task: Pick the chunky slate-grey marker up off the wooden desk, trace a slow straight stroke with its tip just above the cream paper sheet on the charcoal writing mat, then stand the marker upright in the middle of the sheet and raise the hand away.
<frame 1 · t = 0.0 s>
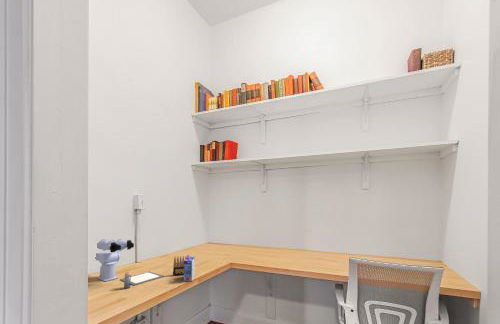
hand: (127, 246, 145), 22 cm above the table, tool horizontal, fingers open, 7 cm apart
blue drink carton: (189, 279, 154), on the table
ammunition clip: (181, 275, 162), on the table
writing mat: (142, 278, 155), on the table
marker: (127, 287, 139), on the table
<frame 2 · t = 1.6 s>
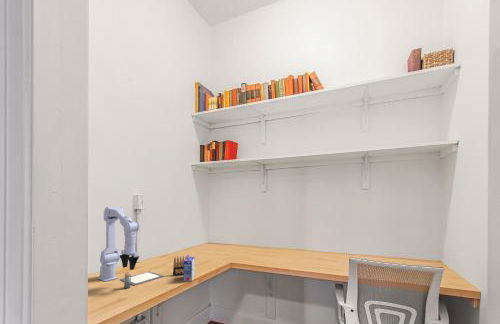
hand: (128, 268, 140), 10 cm above the table, tool pointing down, fingers open, 7 cm apart
nothing on the table moved.
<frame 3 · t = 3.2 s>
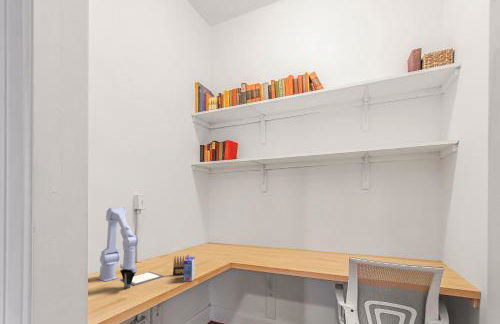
hand: (127, 283, 139), 2 cm above the table, tool pointing down, fingers closed on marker, 3 cm apart
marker: (127, 287, 139), on the table, touching gripper
everything else where it was.
when the fingers open (3 cm above the table, at t = 9.4 s): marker stays where it is, resting on writing mat.
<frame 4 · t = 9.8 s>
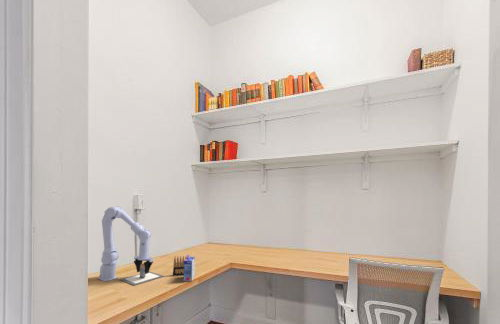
hand: (142, 272, 155), 3 cm above the table, tool pointing down, fingers open, 7 cm apart
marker: (142, 277, 155), resting on writing mat
everything else where it was.
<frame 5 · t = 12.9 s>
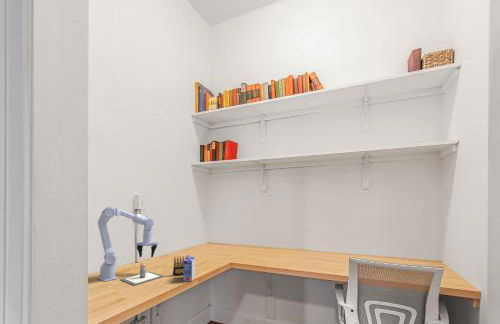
hand: (146, 256, 166), 10 cm above the table, tool pointing down, fingers open, 7 cm apart
nothing on the table moved.
at the end: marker inside the target area on the writing mat (0.0 cm from its centre), point 0.5 cm above the writing mat's base; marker tilted 0°; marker moved 16.2 cm from its start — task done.
